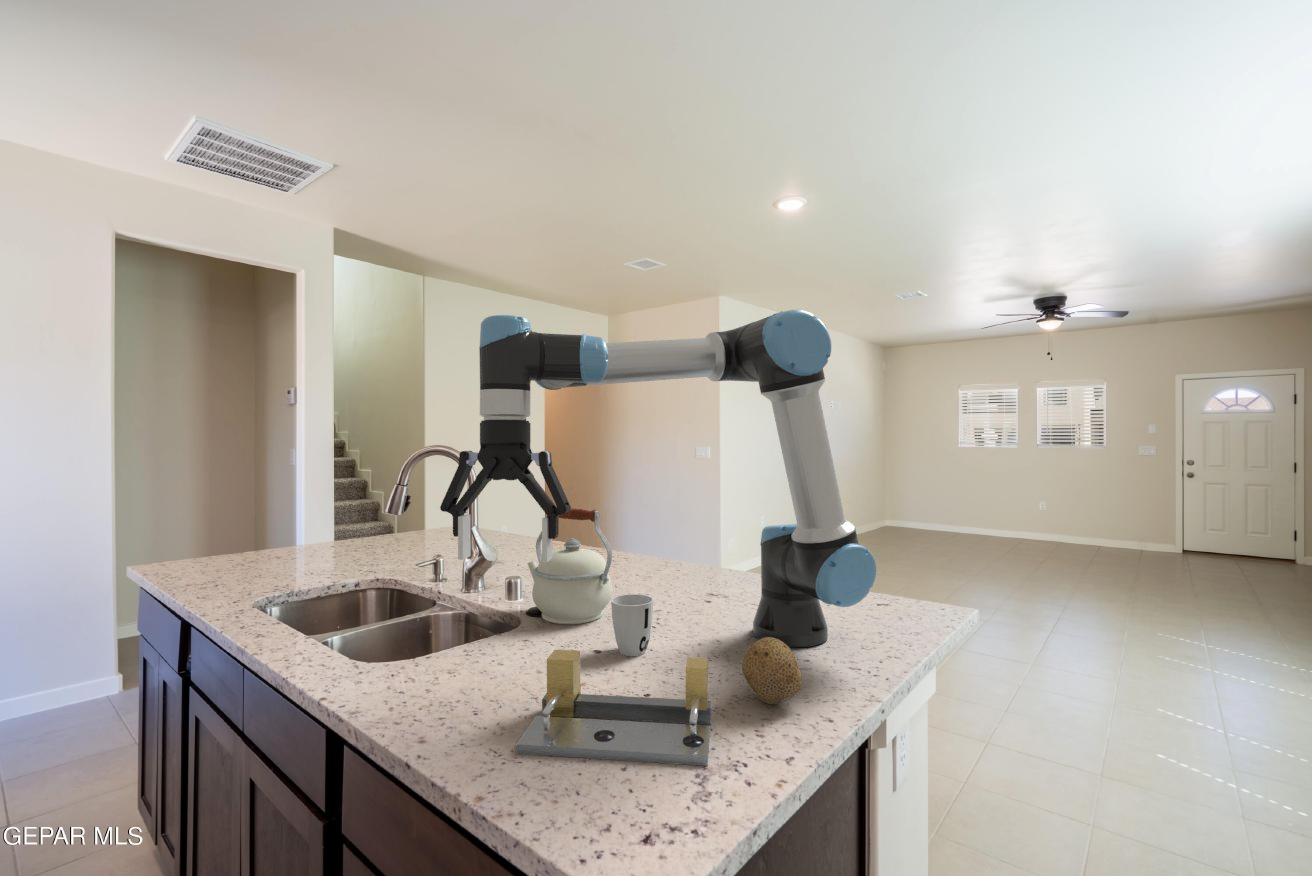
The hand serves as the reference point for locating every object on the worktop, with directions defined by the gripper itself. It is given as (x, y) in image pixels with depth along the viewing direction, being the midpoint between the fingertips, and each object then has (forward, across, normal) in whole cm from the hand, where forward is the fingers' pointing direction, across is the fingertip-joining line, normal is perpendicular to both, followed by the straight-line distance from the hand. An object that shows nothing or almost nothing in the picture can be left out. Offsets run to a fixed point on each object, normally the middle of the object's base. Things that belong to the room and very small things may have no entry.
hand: (505, 559), depth 92 cm
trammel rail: (+23, -19, +4) cm, 30 cm away
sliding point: (+22, -9, +4) cm, 24 cm away
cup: (+23, -15, -26) cm, 38 cm away
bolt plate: (+23, -19, +8) cm, 31 cm away
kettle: (+23, +4, -48) cm, 53 cm away
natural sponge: (+23, -40, -7) cm, 47 cm away
